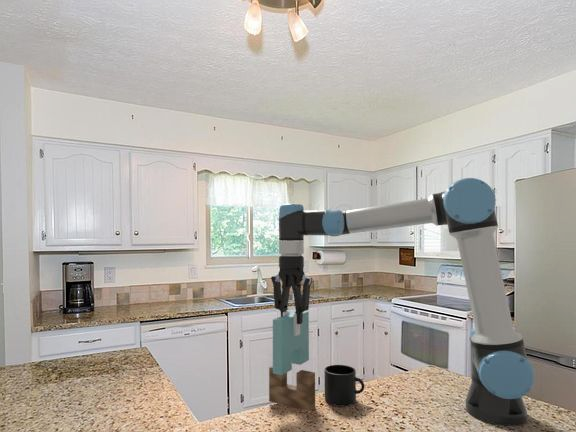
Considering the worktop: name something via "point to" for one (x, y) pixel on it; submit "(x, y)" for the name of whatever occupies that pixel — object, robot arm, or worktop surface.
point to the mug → (341, 385)
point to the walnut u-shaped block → (293, 390)
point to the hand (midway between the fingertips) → (291, 334)
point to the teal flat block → (289, 343)
